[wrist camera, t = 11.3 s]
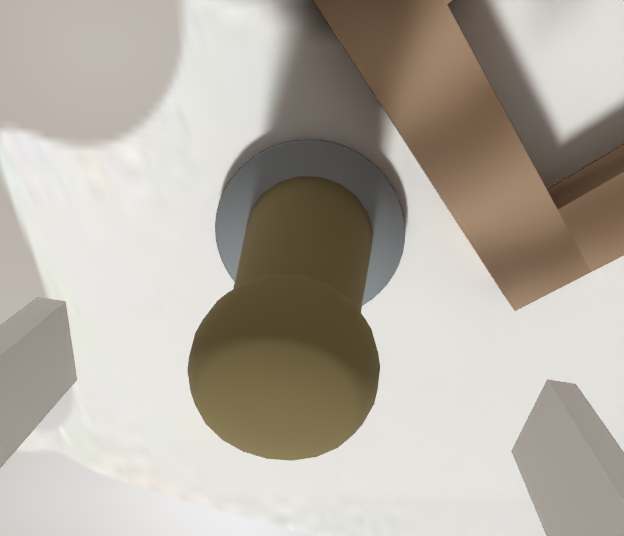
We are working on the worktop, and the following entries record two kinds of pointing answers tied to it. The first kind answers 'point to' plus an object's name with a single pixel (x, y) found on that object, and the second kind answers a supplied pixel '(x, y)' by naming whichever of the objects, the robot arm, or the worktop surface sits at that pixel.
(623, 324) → the worktop surface
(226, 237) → the coaster
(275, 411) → the cork
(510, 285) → the collar board
